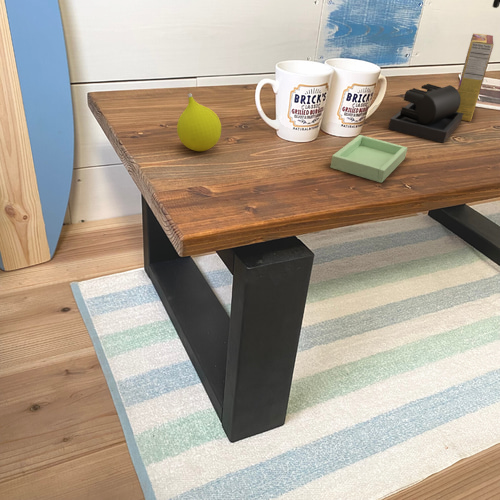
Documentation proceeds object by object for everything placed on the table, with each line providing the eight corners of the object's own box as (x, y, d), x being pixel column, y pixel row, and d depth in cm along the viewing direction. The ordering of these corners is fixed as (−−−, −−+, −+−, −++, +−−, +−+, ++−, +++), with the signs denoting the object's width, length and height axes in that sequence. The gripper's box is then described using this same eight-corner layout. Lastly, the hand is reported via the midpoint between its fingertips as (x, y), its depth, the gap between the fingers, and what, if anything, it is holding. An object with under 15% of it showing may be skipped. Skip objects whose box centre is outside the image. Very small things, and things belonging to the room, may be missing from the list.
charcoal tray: (460, 123, 103) (463, 113, 102) (443, 143, 94) (446, 132, 92) (409, 111, 108) (411, 101, 106) (387, 129, 98) (390, 118, 97)
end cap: (429, 134, 95) (439, 98, 91) (397, 123, 99) (405, 88, 95) (454, 123, 101) (465, 89, 98) (423, 113, 105) (431, 79, 102)
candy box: (451, 106, 112) (473, 32, 104) (472, 109, 111) (495, 35, 103) (449, 118, 105) (471, 40, 97) (470, 122, 104) (495, 43, 96)
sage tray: (404, 158, 86) (407, 147, 85) (381, 183, 78) (384, 170, 77) (357, 145, 90) (359, 134, 89) (330, 167, 81) (332, 155, 80)
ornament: (177, 140, 87) (176, 80, 81) (219, 141, 87) (221, 82, 82) (176, 158, 81) (175, 95, 75) (221, 158, 82) (223, 96, 76)
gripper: (561, -112, 80) (521, 7, 89) (448, -117, 87) (423, -6, 96) (557, -116, 74) (516, 12, 84) (438, -121, 81) (412, -2, 91)
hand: (466, 3), depth 90 cm, fingers open, 9 cm apart
